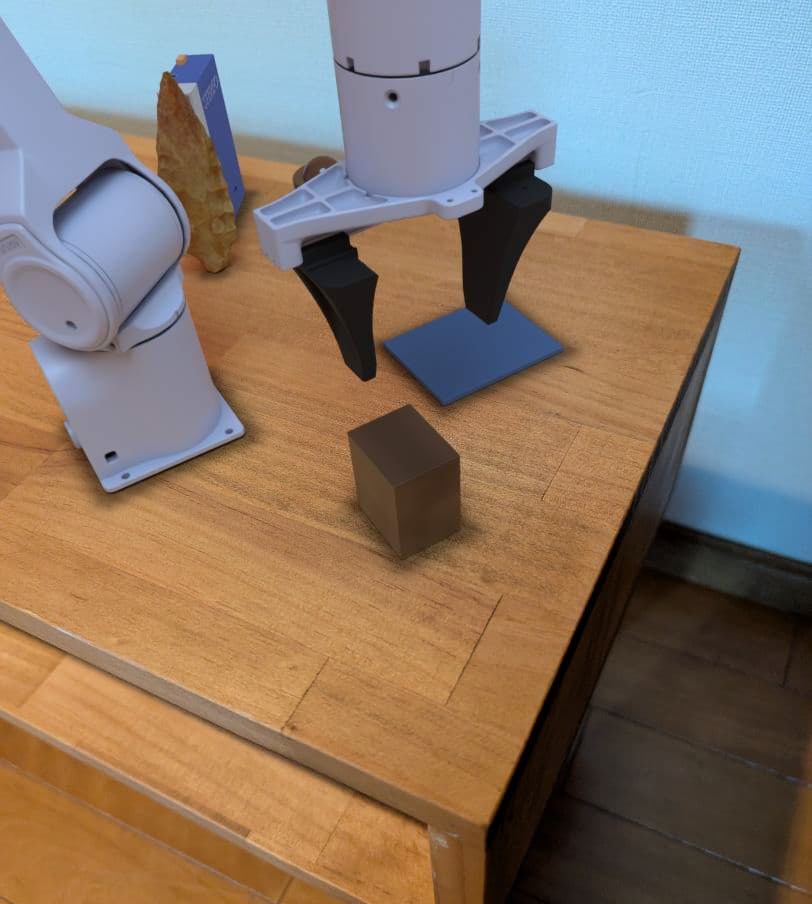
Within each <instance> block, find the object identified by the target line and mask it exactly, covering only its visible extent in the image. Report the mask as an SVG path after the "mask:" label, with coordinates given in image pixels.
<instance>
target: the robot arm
mask: <svg viewBox="0 0 812 904" xmlns="http://www.w3.org/2000/svg"><path fill="white" fill-rule="evenodd" d="M325 2H326V9H327V17H328V24H329V33H330V41H331V49H332V59H333V69H334V77H335V84H336V93H337V101H338V109H339V118H340V126H341V133H342V142H343V143H342V144H343V150H344V157H342V159H340V160H338V161H339V162H337V163H336V164H334V165H332V166H331V167H329V168H328V169H326V170H325V171H323V172H322V173H320V174H318V175H317V176H315V177H314V178H312V179H311V180H309V181H308V182H306V183H304V184H303V185H301V186H300V187H298V188H297V189H295V190H294V189H293V190H292V191H290V192H289V193H287V194H285V195H283V196H282V197H280V198H277V199H276V200H274V201H272V202H270V203H268V204H265V205H262V206H260V207H258V208H257V207H256V208H255V209H253V210H252V215H253V220H254V224H255V228H256V234H257V238H258V241H259V246H260V251H261V253H262V254H263V255H264V256H265V257H266V258H267V259H268V260H269V261H270V263H272V264H273V265H274V266H276V267H277V268H278V269H279V270H280V272H283V273H285V272H286V271H290V270H291V269H292V270H293V271H294V273H295V275H296V276H297V277H298V278H299V280H300V281H301V282H302V284H303V285H304V286H305V288H306V289H307V291H308V292H309V293H310V295H311V297H312V299H313V300H314V301H315V303H316V304H317V306H318V308H319V310H320V311H321V313H322V315H323V316H324V318H325V320H326V322H327V324H328V326H329V328H330V330H331V332H332V335H333V336H334V339H335V341H336V344H337V346H338V348H339V351H340V354H341V357H342V360H343V363H344V365H345V366H346V367H347V368H348V369H349V370H350V371H351V372H352V373H353V374H354V375H355V376H356V377H357V378H358V379H359V380H361V382H363V383H367V382H369V381H371V380H374V379H375V378H377V371H378V361H377V353H376V345H375V337H374V321H373V320H374V303H375V297H376V290H377V285H378V281H379V278H380V275H379V274H377V273H376V272H375V271H374V270H373V269H371V268H370V267H369V266H368V265H367V264H365V263H364V262H363V261H362V260H361V259H360V257H359V250H358V247H357V246H353V245H352V244H351V239H350V237H351V236H354V235H357V234H359V233H362V232H365V231H367V230H369V229H372V228H375V227H377V226H379V225H382V224H385V223H391V222H392V223H393V222H397V221H403V220H408V219H414V218H420V217H425V216H430V215H434V216H437V217H439V219H441V220H445V221H453V220H457V221H458V229H459V237H460V243H461V271H462V272H461V274H462V275H461V279H462V280H461V281H462V293H463V300H464V306H465V307H466V308H467V309H468V310H469V311H470V312H472V313H473V314H474V315H476V316H477V317H478V318H479V319H481V320H482V321H483V322H485V323H486V324H487V325H490V324H492V323H494V322H496V321H497V320H498V317H499V314H500V311H501V308H502V305H503V302H504V300H505V298H506V295H507V292H508V289H509V287H510V284H511V281H512V278H513V276H514V274H515V271H516V268H517V266H518V264H519V261H520V259H521V257H522V255H523V254H524V251H525V249H526V247H527V245H528V244H529V242H530V240H531V238H532V236H533V235H534V233H535V231H537V229H538V228H539V226H540V224H541V223H542V221H543V220H544V219H545V218H546V216H547V215H548V213H549V212H550V211H551V210H552V203H553V187H552V186H551V184H549V183H548V182H547V181H545V180H543V179H542V178H540V177H539V176H536V175H535V173H536V171H541V170H545V169H546V168H549V167H551V166H554V165H555V159H556V150H557V149H556V148H557V147H556V146H557V138H558V137H557V136H558V125H559V124H558V122H557V121H555V120H554V119H551V118H550V117H547V116H545V115H543V114H542V113H539V112H537V111H536V110H533V109H531V108H529V109H526V110H524V111H520V112H517V113H514V114H509V115H506V116H501V117H495V118H491V119H490V118H489V119H485V120H481V42H482V41H481V39H482V37H481V36H482V0H326V1H325ZM157 175H158V174H156V173H155V172H153V171H152V170H151V169H150V168H149V167H148V166H146V165H145V164H144V163H143V162H142V161H141V160H140V159H139V158H138V157H137V156H136V155H135V153H134V152H133V151H132V150H131V148H130V146H129V145H128V144H127V142H126V141H125V139H124V138H123V136H122V135H121V133H120V132H119V131H117V130H115V129H114V128H111V127H109V126H106V125H103V124H100V123H98V122H94V121H91V120H88V119H85V118H82V117H78V116H77V115H74V114H72V113H70V112H68V111H67V110H66V108H65V107H64V106H63V105H62V103H61V102H60V100H59V98H58V97H57V96H56V94H55V93H54V92H53V90H52V88H51V87H50V86H49V84H48V83H47V81H46V80H45V79H44V77H43V75H42V74H41V73H40V71H39V70H38V68H37V67H36V66H35V64H34V62H33V61H32V59H30V57H29V55H28V54H27V53H26V52H25V50H24V49H23V47H22V46H21V44H20V43H19V41H18V40H17V38H16V37H15V36H14V34H13V33H12V31H11V30H10V28H9V27H8V25H7V24H6V23H5V21H4V20H3V19H2V17H1V16H0V284H1V287H2V289H3V291H4V293H5V295H6V297H7V299H8V300H9V302H10V305H11V306H12V308H13V309H14V310H15V311H16V313H17V314H18V315H19V317H20V318H21V319H22V320H23V321H24V322H25V323H26V324H27V325H28V326H29V327H30V328H31V329H33V330H34V331H35V332H37V333H38V334H39V335H38V336H35V337H33V338H32V339H31V340H29V341H28V342H27V344H28V346H29V348H30V350H31V352H32V354H33V356H34V358H35V360H36V362H37V364H38V366H39V368H40V370H41V372H42V374H43V375H44V377H45V378H44V379H46V382H47V383H48V385H49V387H50V390H51V391H52V393H53V395H54V397H55V399H56V401H57V403H58V405H59V406H60V408H61V410H62V412H63V415H65V418H66V421H64V422H63V425H64V427H65V429H66V431H67V433H68V435H69V437H70V439H71V441H72V443H73V445H74V447H75V449H76V450H79V449H82V450H83V452H84V454H85V455H86V458H87V459H88V461H89V463H90V464H91V467H92V469H93V471H94V473H95V474H96V476H97V478H98V480H99V482H100V484H101V486H102V488H103V490H104V491H105V492H107V493H113V492H114V493H115V492H117V491H120V490H121V489H124V488H125V487H129V486H131V485H133V484H135V483H137V482H140V481H142V480H145V479H146V478H149V477H152V476H153V475H156V474H158V473H160V472H163V471H165V470H167V469H169V468H172V467H174V466H176V465H179V464H181V463H183V462H185V461H188V460H190V459H192V458H195V457H197V456H199V455H202V454H204V453H206V452H208V451H211V450H213V449H215V448H218V447H220V446H223V445H225V444H227V443H229V442H231V441H233V440H236V439H238V438H241V437H242V436H244V434H245V433H246V430H245V426H244V425H243V423H242V422H241V421H240V419H239V418H238V416H237V415H236V414H235V412H234V411H233V410H232V408H231V407H230V405H229V404H228V402H227V401H226V400H225V398H224V397H223V396H222V394H221V392H219V390H218V389H217V387H216V386H215V384H214V382H213V378H212V376H211V373H210V369H209V366H208V363H207V361H206V357H205V354H204V351H203V349H202V348H203V347H202V345H201V342H200V338H199V335H198V331H197V329H196V326H195V323H194V319H193V317H192V313H191V311H190V308H189V305H188V301H187V298H186V294H185V292H184V289H183V283H184V282H185V280H186V278H185V274H184V271H183V268H182V265H181V262H180V261H181V260H182V258H183V257H185V255H186V252H187V250H188V247H189V244H190V238H191V231H190V224H189V220H188V217H187V214H186V211H185V209H184V207H183V205H182V203H181V202H180V200H179V199H178V197H177V196H176V194H175V193H174V192H173V191H172V189H171V188H170V187H169V186H168V185H167V184H166V183H165V182H164V181H163V180H162V179H161V178H160V177H158V176H157ZM73 191H74V192H73ZM69 194H70V195H69ZM66 197H67V198H66ZM64 199H65V200H64Z"/></svg>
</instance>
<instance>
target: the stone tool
mask: <svg viewBox="0 0 812 904" xmlns="http://www.w3.org/2000/svg"><path fill="white" fill-rule="evenodd" d="M161 74H162V75H161V79H160V82H159V89H160V91H159V90H158V91H159V96H158V97H157V103H156V122H157V123H156V127H157V129H156V139H155V140H156V142H155V144H156V145H155V152H156V156H157V171H156V172H157V174H156V175H157V176H158V177H160V178H161V179H162V180H163V181H164V182H165V183H166V184H167V185H168V186H169V187H170V188H171V189H172V191H173V192H174V193H175V194H176V196H177V197H178V199H179V200H180V202H181V203H182V205H183V207H184V209H185V211H186V214H187V217H188V220H189V224H190V231H191V238H190V244H189V247H188V250H187V252H186V253H185V255H189V256H192V257H194V258H196V259H197V260H198V261H199V262H200V263H201V265H202V266H203V267H204V268H205V269H206V270H208V271H210V272H212V273H214V274H215V273H218V272H219V271H221V270H222V269H224V268H226V267H227V266H229V263H231V258H232V247H233V244H234V242H235V241H237V227H236V224H235V221H236V219H235V220H234V215H235V214H234V209H233V204H232V202H231V200H230V198H229V192H228V185H227V183H226V181H225V179H224V177H223V172H222V167H221V164H220V161H219V160H218V157H217V154H216V149H215V147H214V143H213V141H212V140H211V138H210V137H209V136H208V135H207V133H206V130H205V128H204V126H203V124H202V123H201V121H200V120H199V118H198V116H197V115H196V114H195V112H194V109H193V107H192V106H191V103H190V101H189V100H188V99H187V97H186V95H185V94H184V93H183V91H182V89H181V88H180V87H179V86H178V83H177V82H176V81H175V80H174V78H173V77H172V75H171V74H170V71H168V70H166V71H163V72H162V73H161Z"/></svg>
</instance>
